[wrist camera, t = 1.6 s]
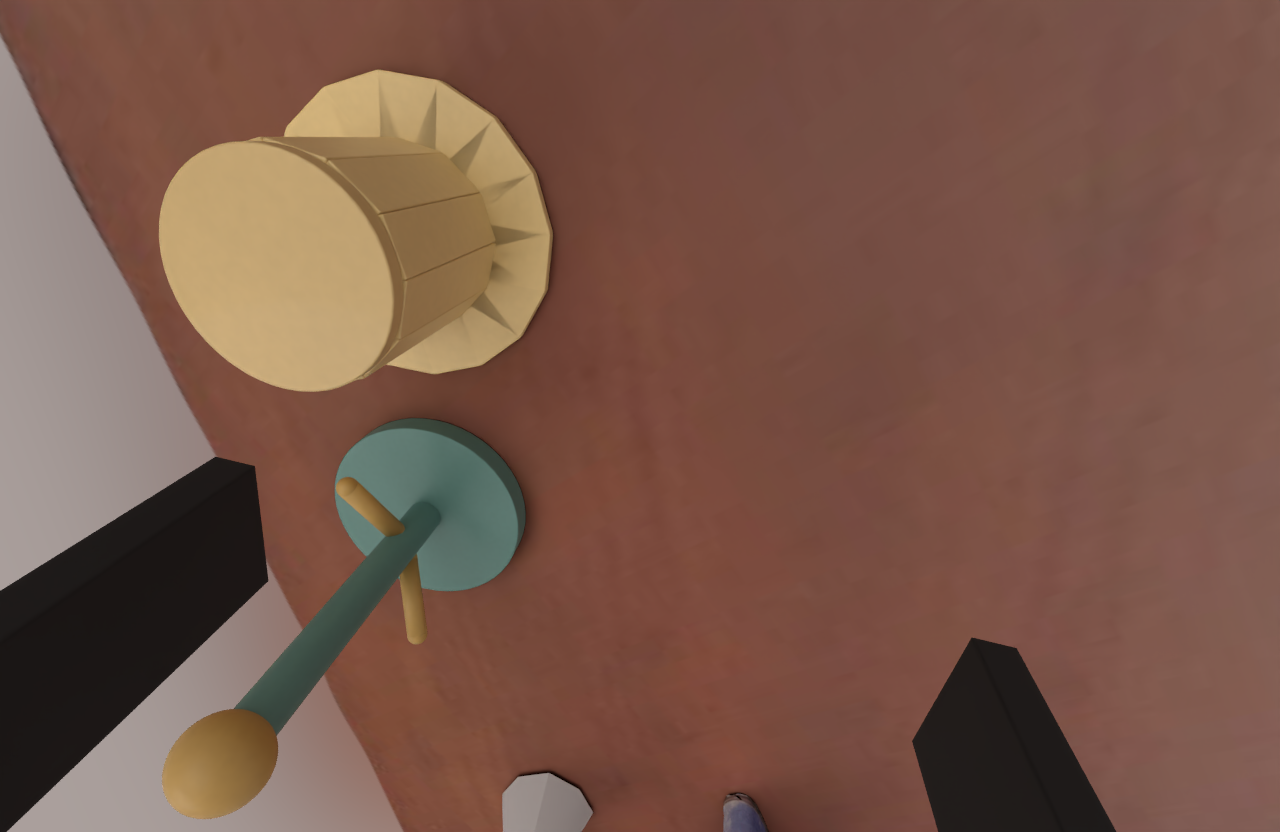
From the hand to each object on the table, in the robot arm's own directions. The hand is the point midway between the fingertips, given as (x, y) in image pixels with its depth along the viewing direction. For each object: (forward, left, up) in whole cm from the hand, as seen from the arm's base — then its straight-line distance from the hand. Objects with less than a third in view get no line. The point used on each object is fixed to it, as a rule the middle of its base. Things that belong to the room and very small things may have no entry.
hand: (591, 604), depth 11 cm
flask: (+39, -19, -23) cm, 49 cm away
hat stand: (+10, -18, -23) cm, 31 cm away
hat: (-6, -13, -23) cm, 27 cm away
